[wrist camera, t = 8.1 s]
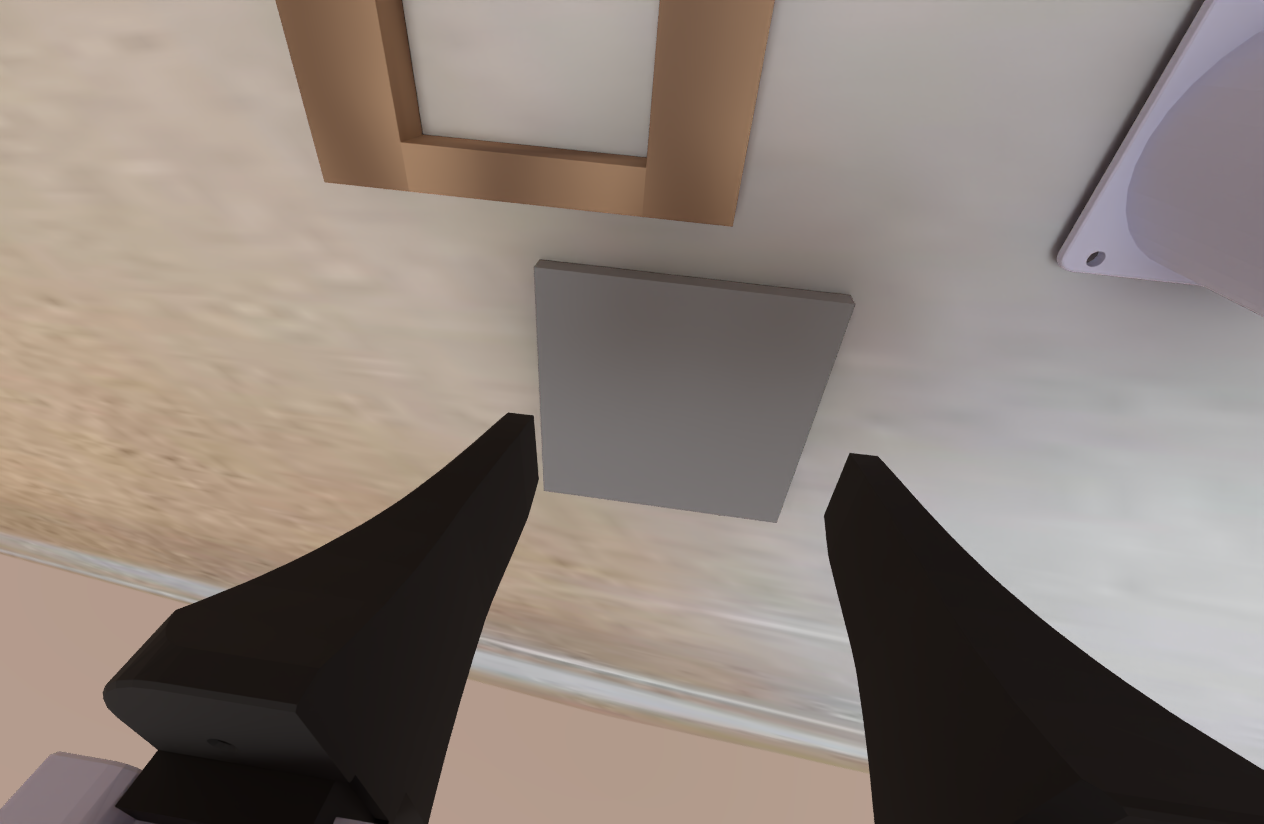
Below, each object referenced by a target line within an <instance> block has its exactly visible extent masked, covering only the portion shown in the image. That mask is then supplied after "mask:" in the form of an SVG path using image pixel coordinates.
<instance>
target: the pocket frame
mask: <svg viewBox="0 0 1264 824" xmlns="http://www.w3.org/2000/svg"><path fill="white" fill-rule="evenodd" d="M774 1H775V0H660V4H659V16H658V28H657V41H656V53H655V65H654V78H653V90H652V102H651V114H650V127H649V139H648V151H647V158H645V157H635V156H626V155H616V154H606V153H597V152H587V151H577V150H567V149H558V148H548V147H538V146H529V145H519V144H509V143H499V142H490V141H480V140H470V139H461V138H451V137H441V136H431V135H422V129H421V122H420V116H419V109H418V103H417V96H416V90H415V83H414V77H413V70H412V64H411V58H410V51H409V45H408V38H407V32H406V25H405V19H404V12H403V6H402V0H276V4H277V8H278V11H279V15H280V19H281V23H282V26H283V30H284V34H285V37H286V41H287V45H288V48H289V52H290V56H291V60H292V63H293V67H294V71H295V74H296V78H297V82H298V85H299V89H300V93H301V97H302V100H303V104H304V108H305V111H306V115H307V119H308V122H309V126H310V130H311V134H312V137H313V141H314V145H315V148H316V152H317V156H318V159H319V163H320V167H321V171H322V174H323V178H324V182H328V183H337V184H346V185H355V186H364V187H373V188H383V189H392V190H401V191H410V192H419V193H428V194H438V195H447V196H456V197H465V198H474V199H484V200H493V201H502V202H511V203H520V204H529V205H539V206H548V207H557V208H566V209H575V210H584V211H594V212H603V213H612V214H621V215H630V216H640V217H649V218H658V219H667V220H676V221H685V222H695V223H704V224H713V225H722V226H731V227H732V226H733V221H734V216H735V210H736V205H737V200H738V194H739V189H740V184H741V178H742V173H743V168H744V162H745V157H746V151H747V146H748V141H749V135H750V130H751V125H752V119H753V114H754V109H755V103H756V98H757V92H758V87H759V82H760V76H761V71H762V66H763V60H764V55H765V50H766V44H767V39H768V33H769V28H770V23H771V17H772V12H773V7H774Z"/></svg>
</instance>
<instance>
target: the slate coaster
mask: <svg viewBox="0 0 1264 824" xmlns="http://www.w3.org/2000/svg"><path fill="white" fill-rule="evenodd" d="M534 280H535V302H536V325H537V347H538V369H539V392H540V414H541V436H542V459H543V481H544V491H549V492H556V493H563V494H571V495H578V496H585V497H592V498H599V499H607V500H614V501H621V502H628V503H636V504H643V505H650V506H657V507H665V508H672V509H679V510H686V511H694V512H701V513H708V514H715V515H722V516H730V517H737V518H744V519H751V520H759V521H766V522H773V523H777V520H778V517H779V515H780V512H781V509H782V506H783V503H784V501H785V498H786V495H787V492H788V490H789V487H790V484H791V481H792V479H793V476H794V473H795V470H796V467H797V465H798V462H799V459H800V456H801V454H802V451H803V448H804V445H805V442H806V440H807V437H808V434H809V431H810V429H811V426H812V423H813V420H814V418H815V415H816V412H817V409H818V406H819V404H820V401H821V398H822V395H823V393H824V390H825V387H826V384H827V381H828V379H829V376H830V373H831V370H832V368H833V365H834V362H835V359H836V357H837V354H838V351H839V348H840V345H841V343H842V340H843V337H844V334H845V332H846V329H847V326H848V323H849V320H850V318H851V315H852V312H853V309H854V307H855V303H854V301H853V299H852V297H851V295H844V294H835V293H826V292H817V291H809V290H800V289H791V288H783V287H774V286H765V285H756V284H748V283H739V282H730V281H721V280H713V279H704V278H695V277H686V276H678V275H669V274H660V273H652V272H643V271H634V270H625V269H617V268H608V267H599V266H590V265H582V264H573V263H564V262H555V261H547V260H539V261H538V262H537V264H536V265H535V266H534Z"/></svg>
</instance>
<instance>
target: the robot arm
mask: <svg viewBox="0 0 1264 824" xmlns="http://www.w3.org/2000/svg"><path fill="white" fill-rule="evenodd" d="M1095 252H1098V255H1097V256H1096V258H1095V259H1094V260H1092V261H1090V262H1086V261H1087V258H1088V257H1089V256H1090V255H1091V254H1093V253H1095ZM1057 263H1058V264H1059V265H1060V267H1062V268H1063V269H1065V270H1068V271H1071V272H1080V273H1089V274H1098V275H1107V276H1116V277H1125V278H1135V279H1144V280H1153V281H1162V282H1171V283H1180V284H1189V285H1198V286H1204V287H1206V288H1208V289H1210V290H1212V291H1214V292H1216V293H1218V294H1220V295H1222V296H1224V297H1225V298H1227V299H1229V300H1231V301H1233V302H1235V303H1237V304H1239V305H1241V306H1243V307H1245V308H1247V309H1249V310H1251V311H1253V312H1255V313H1257V314H1259V315H1261V316H1263V317H1264V0H1205V1H1204V3H1203V4H1202V6H1201V8H1200V10H1199V11H1198V13H1197V15H1196V16H1195V18H1194V20H1193V22H1192V23H1191V25H1190V27H1189V29H1188V30H1187V32H1186V34H1185V35H1184V37H1183V39H1182V41H1181V42H1180V44H1179V46H1178V47H1177V49H1176V51H1175V53H1174V54H1173V56H1172V58H1171V60H1170V61H1169V63H1168V65H1167V66H1166V68H1165V70H1164V72H1163V73H1162V75H1161V77H1160V78H1159V80H1158V82H1157V84H1156V85H1155V87H1154V89H1153V91H1152V92H1151V94H1150V96H1149V97H1148V99H1147V101H1146V103H1145V104H1144V106H1143V108H1142V110H1141V111H1140V113H1139V115H1138V116H1137V118H1136V120H1135V122H1134V123H1133V125H1132V127H1131V128H1130V130H1129V132H1128V134H1127V135H1126V137H1125V139H1124V141H1123V142H1122V144H1121V146H1120V147H1119V149H1118V151H1117V153H1116V154H1115V156H1114V158H1113V160H1112V161H1111V163H1110V165H1109V166H1108V168H1107V170H1106V172H1105V173H1104V175H1103V177H1102V178H1101V180H1100V182H1099V184H1098V185H1097V187H1096V189H1095V191H1094V192H1093V194H1092V196H1091V197H1090V199H1089V201H1088V203H1087V204H1086V206H1085V208H1084V210H1083V211H1082V213H1081V215H1080V216H1079V218H1078V220H1077V222H1076V223H1075V225H1074V227H1073V228H1072V230H1071V232H1070V234H1069V235H1068V237H1067V239H1066V241H1065V242H1064V244H1063V246H1062V247H1061V249H1060V251H1059V253H1058V256H1057ZM538 480H539V477H538V464H537V452H536V439H535V426H534V416H533V415H524V414H516V413H507V414H506V415H505V416H503V417H502V418H501V419H500V420H499V421H497V422H496V423H495V424H494V425H493V426H492V427H491V428H490V429H488V430H487V431H486V432H485V433H484V434H483V435H482V436H480V437H479V438H478V439H477V440H476V441H475V442H474V443H472V444H471V445H470V446H469V447H468V448H467V449H465V450H464V451H463V452H462V453H461V454H459V455H458V456H457V457H456V458H455V459H453V460H452V461H451V462H450V463H449V464H447V465H446V466H445V467H444V468H443V469H441V470H440V471H439V472H437V473H436V474H435V475H434V476H432V477H431V478H430V479H428V480H427V481H426V482H424V483H423V484H422V485H420V486H419V487H418V488H416V489H415V490H414V491H412V492H411V493H410V494H408V495H407V496H405V497H404V498H402V499H401V500H400V501H398V502H397V503H395V504H394V505H392V506H391V507H389V508H387V509H386V510H384V511H383V512H381V513H380V514H378V515H376V516H375V517H373V518H372V519H370V520H368V521H367V522H365V523H363V524H362V525H360V526H358V527H356V528H354V529H353V530H351V531H349V532H347V533H345V534H344V535H342V536H340V537H338V538H336V539H334V540H333V541H331V542H329V543H327V544H325V545H324V546H322V547H320V548H318V549H316V550H314V551H312V552H310V553H308V554H306V555H304V556H302V557H300V558H298V559H296V560H294V561H292V562H290V563H288V564H286V565H283V566H281V567H279V568H277V569H275V570H272V571H270V572H268V573H266V574H264V575H262V576H259V577H257V578H255V579H252V580H250V581H248V582H245V583H243V584H241V585H238V586H236V587H233V588H231V589H228V590H226V591H223V592H221V593H218V594H216V595H213V596H211V597H208V598H206V599H203V600H201V601H198V602H196V603H193V604H191V605H188V606H185V607H183V608H180V609H177V610H175V611H174V612H173V614H172V615H171V616H170V617H169V618H168V619H167V620H166V621H165V622H164V623H163V624H162V625H161V626H160V627H159V628H158V629H157V630H156V632H155V633H154V634H153V635H152V636H151V637H150V638H149V639H148V640H147V641H146V642H145V643H144V644H143V646H142V647H141V648H140V649H139V650H138V651H137V652H136V653H135V654H134V655H133V656H132V657H131V658H130V660H129V661H128V662H127V663H126V664H125V665H124V666H123V667H122V668H121V669H120V670H119V671H118V672H117V674H116V675H115V676H114V677H113V678H112V679H111V680H110V681H109V682H108V683H107V684H106V686H105V688H104V691H103V699H104V701H105V703H106V706H107V708H108V709H109V710H110V711H111V712H112V713H113V714H114V715H115V716H117V718H119V719H120V720H121V721H122V722H124V723H125V724H126V725H127V726H129V727H130V728H131V729H133V730H134V731H135V732H137V734H139V735H140V736H141V737H143V738H144V739H145V740H146V741H148V742H149V743H150V744H151V745H152V746H154V747H155V748H156V749H157V750H158V751H157V752H156V753H155V755H154V756H153V758H152V759H151V760H150V761H149V763H148V764H147V765H146V766H145V768H144V769H143V770H141V769H138V768H136V767H134V766H131V765H128V764H124V763H120V762H117V761H111V760H106V759H100V758H94V757H88V756H82V755H77V754H71V753H66V752H56V753H53V754H51V755H50V756H49V757H48V758H47V759H46V760H45V761H44V762H43V763H42V764H41V765H40V766H39V768H38V769H37V770H36V771H35V772H34V773H33V774H32V775H31V776H30V777H29V779H27V781H26V782H25V783H24V784H23V785H22V786H21V787H20V788H19V789H18V790H17V792H16V793H15V794H14V795H13V796H12V797H11V798H10V799H9V800H8V801H7V803H6V804H5V805H4V806H3V807H2V808H1V809H0V824H428V822H429V818H430V814H431V809H432V806H433V802H434V798H435V794H436V790H437V786H438V782H439V778H440V774H441V771H442V766H443V763H444V759H445V755H446V751H447V748H448V744H449V740H450V736H451V733H452V730H453V726H454V722H455V719H456V715H457V711H458V707H459V704H460V701H461V697H462V694H463V691H464V687H465V684H466V680H467V677H468V674H469V670H470V667H471V664H472V660H473V657H474V654H475V651H476V648H477V644H478V641H479V638H480V635H481V632H482V629H483V625H484V622H485V619H486V616H487V614H488V611H489V608H490V606H491V603H492V601H493V598H494V596H495V593H496V591H497V589H498V586H499V584H500V582H501V579H502V577H503V575H504V572H505V570H506V568H507V565H508V563H509V561H510V559H511V556H512V554H513V552H514V549H515V547H516V545H517V542H518V540H519V537H520V535H521V533H522V530H523V528H524V526H525V523H526V521H527V518H528V515H529V512H530V509H531V505H532V502H533V498H534V495H535V491H536V487H537V484H538ZM824 520H825V530H826V540H827V548H828V556H829V561H830V565H831V569H832V573H833V577H834V581H835V586H836V590H837V594H838V598H839V601H840V605H841V609H842V613H843V617H844V621H845V625H846V629H847V633H848V637H849V641H850V645H851V649H852V653H853V658H854V663H855V668H856V673H857V679H858V686H859V693H860V700H861V707H862V714H863V721H864V729H865V737H866V745H867V754H868V762H869V771H870V781H871V791H872V802H873V812H874V822H875V824H1264V770H1263V769H1261V768H1259V767H1258V766H1256V765H1254V764H1253V763H1251V762H1250V761H1248V760H1246V759H1245V758H1243V757H1241V756H1240V755H1238V754H1237V753H1235V752H1233V751H1232V750H1230V749H1229V748H1227V747H1225V746H1224V745H1222V744H1220V743H1219V742H1217V741H1216V740H1214V739H1212V738H1211V737H1209V736H1207V735H1206V734H1204V733H1203V732H1201V731H1199V730H1198V729H1196V728H1195V727H1193V726H1191V725H1190V724H1188V723H1186V722H1185V721H1183V720H1182V719H1180V718H1179V717H1177V716H1176V715H1174V714H1172V713H1171V712H1169V711H1168V710H1166V709H1165V708H1164V707H1162V706H1161V705H1159V704H1158V703H1156V702H1155V701H1153V700H1152V699H1150V698H1149V697H1147V696H1146V695H1144V694H1143V693H1141V692H1140V691H1138V690H1137V689H1135V688H1134V687H1132V686H1131V685H1129V684H1128V683H1127V682H1125V681H1124V680H1122V679H1121V678H1119V677H1118V676H1117V675H1115V674H1114V673H1112V672H1111V671H1110V670H1108V669H1107V668H1105V667H1104V666H1103V665H1101V664H1100V663H1098V662H1097V661H1096V660H1094V659H1093V658H1092V657H1090V656H1089V655H1088V654H1086V653H1085V652H1084V651H1082V650H1081V649H1080V648H1079V647H1077V646H1076V645H1075V644H1073V643H1072V642H1071V641H1069V640H1068V639H1067V638H1065V637H1064V636H1063V635H1061V634H1060V633H1059V632H1057V631H1056V630H1055V629H1054V628H1052V627H1051V626H1050V625H1049V624H1047V623H1046V622H1045V621H1044V620H1042V619H1041V618H1040V617H1039V616H1037V615H1036V614H1035V613H1034V612H1033V611H1031V610H1030V609H1029V608H1028V607H1027V606H1026V605H1024V604H1023V603H1022V602H1021V601H1020V600H1019V599H1017V598H1016V597H1015V596H1014V595H1013V594H1012V593H1010V592H1009V591H1008V590H1007V589H1006V588H1005V587H1003V586H1002V585H1001V584H1000V583H999V582H998V581H997V580H996V579H995V578H994V577H992V576H991V575H990V574H989V573H988V572H987V571H986V570H985V569H984V568H983V567H982V566H981V565H980V564H979V563H978V562H977V561H976V560H975V559H974V558H973V557H972V556H970V555H969V554H968V553H967V552H966V551H965V550H964V549H963V548H962V547H961V546H960V545H959V544H958V543H957V542H956V541H955V540H954V539H953V538H952V537H951V536H950V535H949V534H948V532H947V531H946V530H945V529H944V528H943V527H942V526H941V525H940V524H939V523H938V522H937V521H936V520H935V519H934V518H933V517H932V515H931V514H930V513H929V512H928V511H927V510H926V509H925V508H924V507H923V506H922V505H921V503H920V502H919V501H918V500H917V499H916V498H915V497H914V496H913V495H912V493H911V492H910V491H909V490H908V489H907V488H906V487H905V486H904V484H903V483H902V482H901V481H900V480H899V479H898V478H897V477H896V475H895V474H894V473H893V472H892V471H891V470H890V469H889V468H888V467H887V466H886V464H885V463H884V462H883V461H882V460H881V459H880V458H879V457H878V456H871V455H863V454H854V453H849V456H848V458H847V461H846V463H845V466H844V468H843V471H842V473H841V475H840V478H839V480H838V483H837V485H836V488H835V490H834V493H833V495H832V497H831V500H830V502H829V505H828V507H827V510H826V512H825V515H824Z"/></svg>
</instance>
